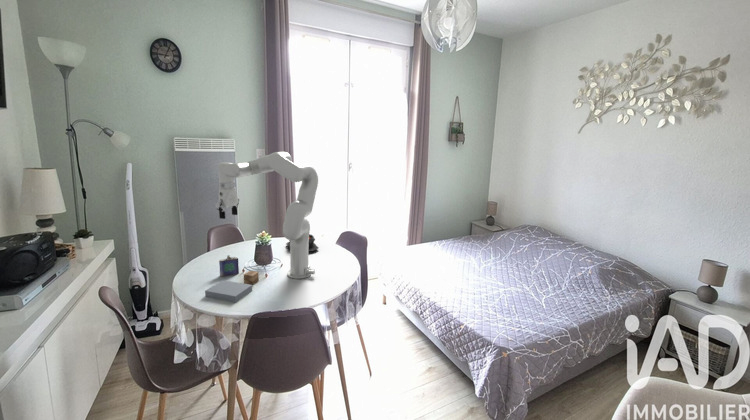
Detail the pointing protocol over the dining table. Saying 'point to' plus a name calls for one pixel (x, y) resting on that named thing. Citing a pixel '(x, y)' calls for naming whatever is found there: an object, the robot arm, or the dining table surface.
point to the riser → (228, 291)
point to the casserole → (311, 243)
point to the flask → (229, 266)
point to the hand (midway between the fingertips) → (228, 216)
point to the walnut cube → (251, 277)
